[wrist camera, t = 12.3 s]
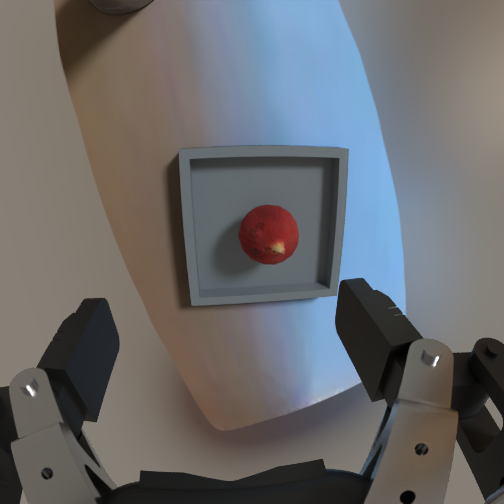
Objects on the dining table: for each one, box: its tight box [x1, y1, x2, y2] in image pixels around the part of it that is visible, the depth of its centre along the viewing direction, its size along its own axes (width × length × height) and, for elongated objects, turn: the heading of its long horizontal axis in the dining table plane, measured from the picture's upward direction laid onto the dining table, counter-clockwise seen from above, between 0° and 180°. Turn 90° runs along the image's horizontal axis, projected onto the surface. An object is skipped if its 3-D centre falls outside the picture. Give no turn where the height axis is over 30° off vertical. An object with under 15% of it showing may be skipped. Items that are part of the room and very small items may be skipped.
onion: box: [238, 204, 299, 265], centre depth 29 cm, size 6×6×8 cm
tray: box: [179, 145, 349, 306], centre depth 33 cm, size 17×17×3 cm
